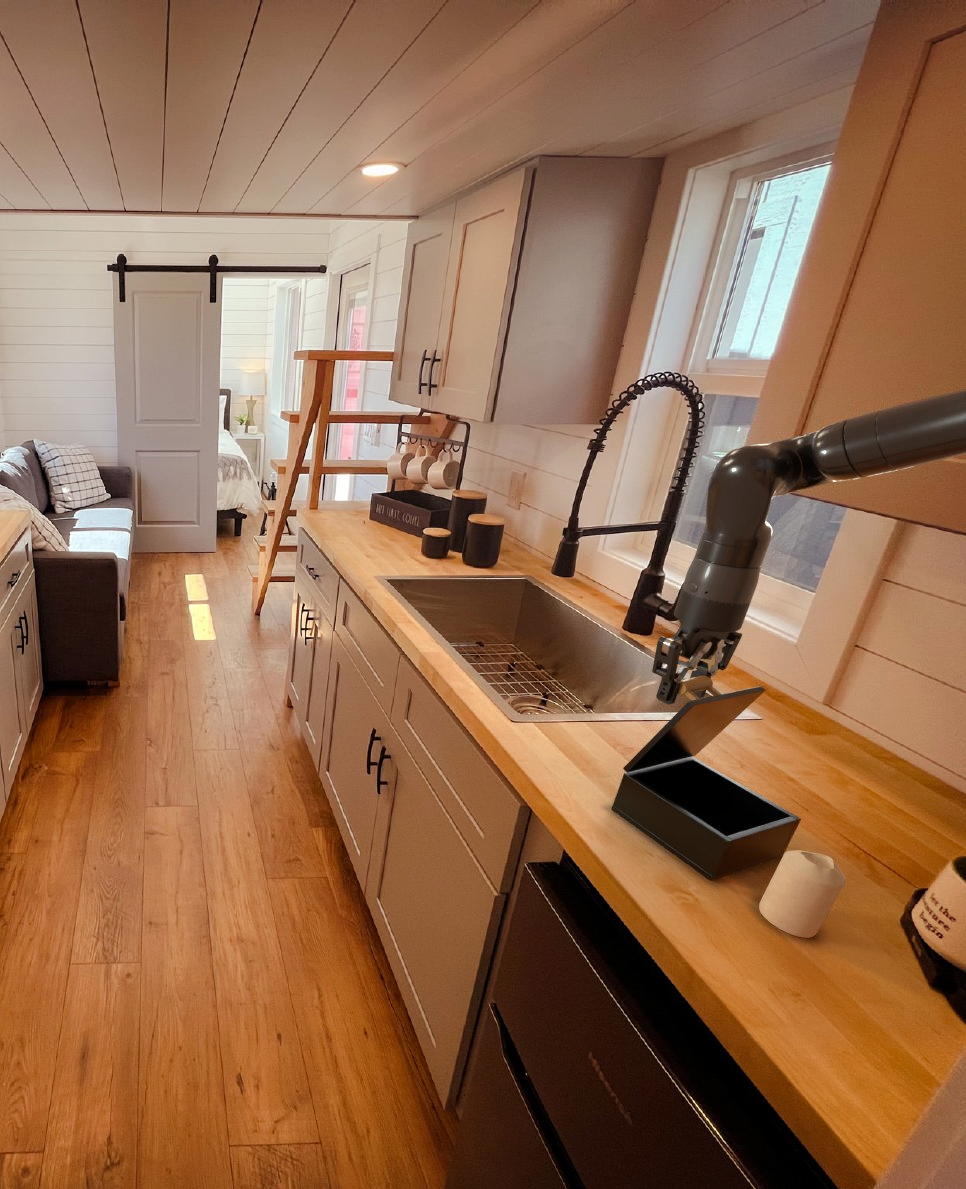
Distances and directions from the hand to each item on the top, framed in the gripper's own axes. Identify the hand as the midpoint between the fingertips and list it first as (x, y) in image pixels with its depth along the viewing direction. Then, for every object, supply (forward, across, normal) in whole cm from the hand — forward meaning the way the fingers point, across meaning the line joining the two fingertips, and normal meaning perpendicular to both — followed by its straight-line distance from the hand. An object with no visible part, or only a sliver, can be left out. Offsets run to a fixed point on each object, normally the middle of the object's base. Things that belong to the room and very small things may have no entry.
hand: (679, 698), depth 94 cm
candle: (+19, -5, -22) cm, 29 cm away
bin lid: (+4, 0, -3) cm, 5 cm away
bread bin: (+18, 0, -8) cm, 20 cm away
